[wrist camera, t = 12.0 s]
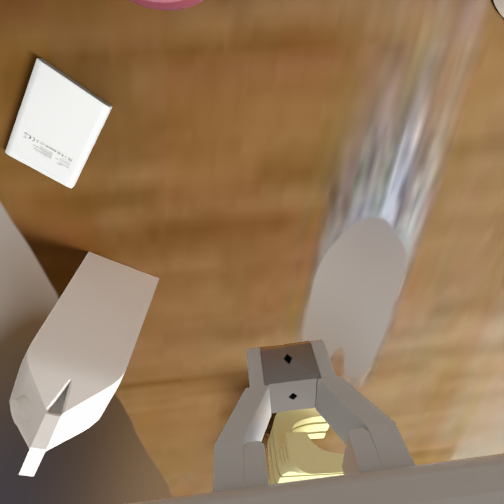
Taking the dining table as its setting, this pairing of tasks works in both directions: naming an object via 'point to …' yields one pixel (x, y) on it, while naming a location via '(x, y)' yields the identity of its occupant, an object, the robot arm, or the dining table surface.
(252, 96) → the dining table surface
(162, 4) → the plant pot
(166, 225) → the dining table surface
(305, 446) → the slatted curved stool
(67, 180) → the external hard drive
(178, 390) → the dining table surface
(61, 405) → the milk
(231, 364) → the dining table surface
